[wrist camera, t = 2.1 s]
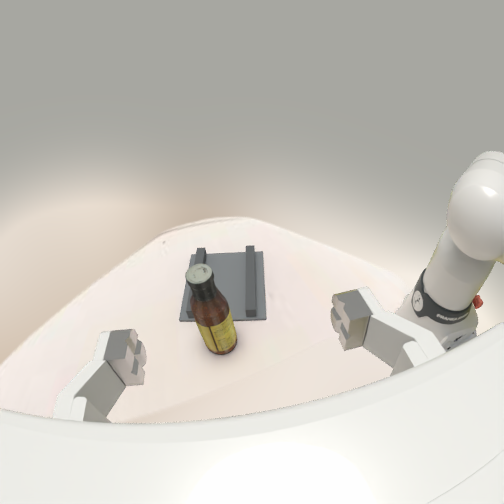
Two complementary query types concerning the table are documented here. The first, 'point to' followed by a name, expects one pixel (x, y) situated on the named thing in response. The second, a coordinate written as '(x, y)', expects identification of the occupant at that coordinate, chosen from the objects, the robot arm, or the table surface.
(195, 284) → the sauce bottle
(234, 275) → the holder
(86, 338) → the table surface
